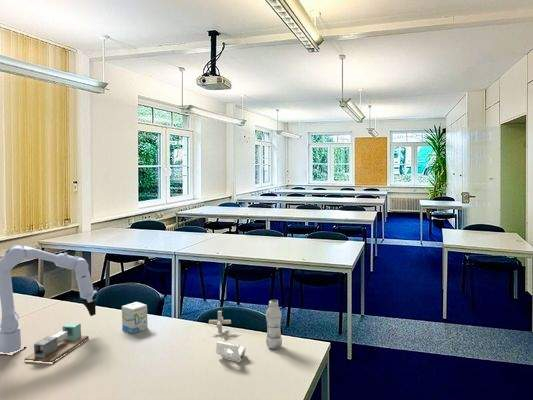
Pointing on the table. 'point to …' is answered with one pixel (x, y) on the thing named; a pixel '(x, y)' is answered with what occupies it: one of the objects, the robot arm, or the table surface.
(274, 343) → the plastic bottle
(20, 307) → the table surface
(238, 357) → the mounting bracket
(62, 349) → the walnut board
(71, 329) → the teal socket block
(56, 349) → the grey sleeve
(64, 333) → the grey rectangular bar
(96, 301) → the robot arm
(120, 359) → the table surface
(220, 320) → the pipe connector
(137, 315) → the ink box
